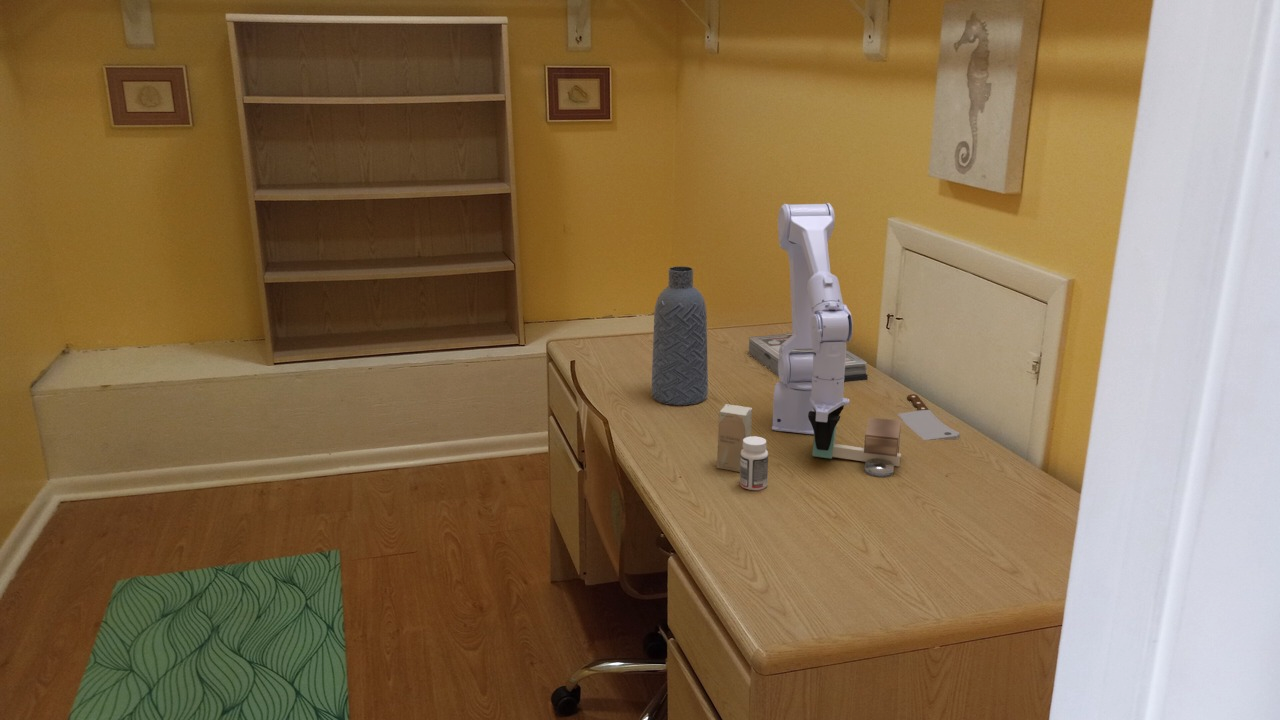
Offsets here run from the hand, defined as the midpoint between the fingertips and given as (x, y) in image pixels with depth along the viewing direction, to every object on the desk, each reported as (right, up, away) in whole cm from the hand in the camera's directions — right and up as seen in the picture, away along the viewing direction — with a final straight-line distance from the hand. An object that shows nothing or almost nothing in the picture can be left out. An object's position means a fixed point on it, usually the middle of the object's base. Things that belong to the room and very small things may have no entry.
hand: (824, 445), depth 184 cm
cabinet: (+10, -3, -2) cm, 11 cm away
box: (-17, -4, -3) cm, 18 cm away
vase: (-25, +8, +32) cm, 42 cm away
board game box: (+5, +14, +53) cm, 55 cm away
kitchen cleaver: (+23, +3, +20) cm, 31 cm away
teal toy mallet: (+6, -2, -1) cm, 6 cm away
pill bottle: (-14, -6, -11) cm, 19 cm away
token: (+9, -4, -5) cm, 11 cm away
